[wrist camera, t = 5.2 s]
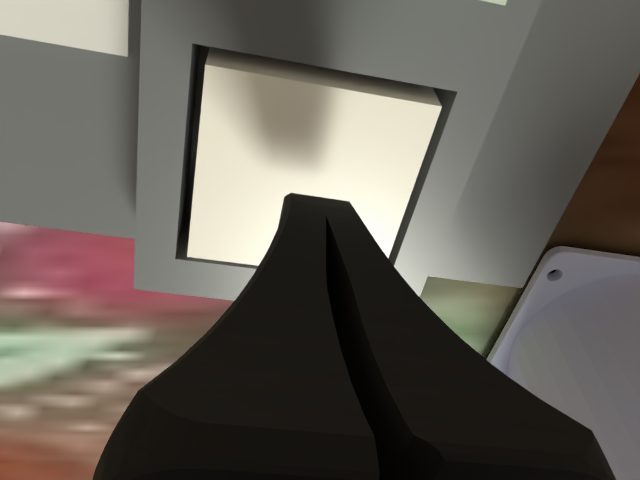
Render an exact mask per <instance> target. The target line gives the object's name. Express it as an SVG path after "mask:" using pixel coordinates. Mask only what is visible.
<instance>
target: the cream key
mask: <svg viewBox="0 0 640 480" xmlns="http://www.w3.org/2000/svg"><path fill="white" fill-rule="evenodd" d="M441 108H442V106H441V104H440V102H439V100H438V97H437V95H436V93H435V91H434V89H433V87H429V86H423V85H418V84H412V83H407V82H401V81H396V80H390V79H385V78H379V77H374V76H368V75H363V74H357V73H352V72H346V71H341V70H335V69H330V68H325V67H319V66H314V65H308V64H303V63H297V62H292V61H286V60H281V59H275V58H270V57H264V56H259V55H253V54H248V53H242V52H237V51H231V50H226V49H220V48H215V47H210V49H209V52H208V56H207V60H206V64H205V72H204V83H203V93H202V104H201V114H200V125H199V136H198V146H197V157H196V167H195V178H194V188H193V199H192V210H191V220H190V231H189V241H188V252H187V257H193V258H201V259H209V260H217V261H225V262H233V263H241V264H249V265H257V266H259V264H260V263H261V261H262V259H263V257H264V256H265V254H266V252H267V250H268V249H269V247H270V244H271V242H272V240H273V238H274V236H275V234H276V231H277V229H278V225H279V220H280V215H281V210H282V205H283V200H284V197H285V196H286V195H288V194H290V193H296V194H303V195H310V196H316V197H323V198H330V199H337V200H343V201H350V203H351V204H352V206H353V207H354V209H355V210H356V212H357V213H358V215H359V216H360V218H361V219H362V221H363V223H364V224H365V226H366V227H367V229H368V230H369V232H370V233H371V235H372V236H373V238H374V239H375V241H376V242H377V244H378V245H379V246H380V248H381V249H382V251H383V252H384V253H385V255H386V256H387V258H389V255H390V252H391V249H392V247H393V244H394V241H395V238H396V235H397V232H398V230H399V227H400V224H401V221H402V218H403V215H404V213H405V210H406V207H407V204H408V201H409V198H410V196H411V193H412V190H413V187H414V184H415V182H416V179H417V176H418V173H419V170H420V167H421V165H422V162H423V159H424V156H425V153H426V150H427V148H428V145H429V142H430V139H431V136H432V134H433V131H434V128H435V125H436V122H437V119H438V117H439V114H440V111H441Z"/></svg>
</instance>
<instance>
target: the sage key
mask: <svg viewBox="0 0 640 480" xmlns="http://www.w3.org/2000/svg"><path fill="white" fill-rule="evenodd" d="M481 1H486V2H490V3H495V4H500V5H506V2H507V0H481Z"/></svg>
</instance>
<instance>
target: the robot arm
mask: <svg viewBox="0 0 640 480" xmlns="http://www.w3.org/2000/svg"><path fill="white" fill-rule="evenodd" d="M552 270H556V271H555V272H553V273H550V274H548V273H549V272H550V271H552ZM93 480H640V257H637V256H630V255H623V254H615V253H608V252H601V251H594V250H587V249H580V248H573V247H566V246H558V247H555V248H552V249H550V250H549V251H547V252H546V254H545V255H544V256H543V258H542V260H541V262H540V264H539V265H538V267H537V269H536V271H535V273H534V274H533V276H532V278H531V280H530V282H529V283H528V285H527V287H526V289H525V291H524V292H523V294H522V296H521V298H520V300H519V302H518V303H517V305H516V307H515V309H514V311H513V312H512V314H511V316H510V318H509V320H508V321H507V323H506V325H505V327H504V329H503V330H502V332H501V334H500V336H499V338H498V340H497V341H496V343H495V345H494V347H493V349H492V350H491V352H490V354H489V356H488V358H487V359H485V358H484V357H482V356H481V355H480V354H479V353H478V352H476V351H475V350H474V349H473V348H472V347H470V346H469V345H468V344H467V343H466V342H464V341H463V340H462V339H461V338H460V337H459V336H458V335H457V334H456V333H454V332H453V331H452V330H451V329H450V328H449V327H448V326H447V325H446V324H445V323H444V322H443V321H442V320H441V319H440V318H439V317H438V316H437V315H436V314H435V313H434V312H433V311H432V310H431V309H430V308H429V307H428V306H427V305H426V304H425V303H424V302H423V301H422V299H421V298H420V297H419V296H418V295H417V294H416V293H415V291H414V290H413V289H412V288H411V287H410V285H409V284H408V283H407V282H406V281H405V280H404V278H403V277H402V276H401V275H400V273H399V272H398V271H397V270H396V268H395V267H394V266H393V264H392V263H391V262H390V260H389V259H388V258H387V256H386V255H385V253H384V252H383V251H382V249H381V248H380V246H379V245H378V244H377V242H376V241H375V239H374V238H373V236H372V235H371V233H370V232H369V230H368V229H367V227H366V226H365V224H364V223H363V221H362V219H361V218H360V216H359V215H358V213H357V212H356V210H355V209H354V207H353V206H352V204H351V203H350V201H343V200H337V199H330V198H323V197H316V196H310V195H303V194H296V193H290V194H288V195H286V196H285V197H284V200H283V205H282V210H281V215H280V220H279V225H278V229H277V231H276V234H275V236H274V238H273V240H272V242H271V244H270V247H269V249H268V250H267V252H266V254H265V256H264V257H263V259H262V261H261V263H260V264H259V266H258V268H257V269H256V271H255V273H254V274H253V276H252V277H251V279H250V280H249V282H248V283H247V285H246V286H245V288H244V289H243V290H242V292H241V293H240V294H239V296H238V297H237V298H236V300H235V301H234V302H233V303H232V305H231V306H230V307H229V308H228V309H227V310H226V312H225V313H224V314H223V315H222V316H221V318H220V319H219V320H218V321H217V322H216V323H215V324H214V325H213V326H212V328H211V329H210V330H209V331H208V332H207V333H206V334H205V335H204V336H203V337H202V338H200V339H199V340H198V341H197V342H196V343H195V344H194V345H193V346H192V347H191V348H190V349H189V350H188V351H187V352H186V353H185V354H184V355H182V356H181V357H180V358H179V359H178V360H177V361H176V362H174V363H173V364H172V365H171V366H170V367H168V368H167V369H166V370H164V371H163V372H162V373H161V374H159V375H158V376H157V377H155V378H154V379H153V380H152V381H150V382H149V383H148V384H146V385H145V386H144V387H142V388H141V389H140V390H139V391H138V392H137V393H136V395H135V397H134V398H133V400H132V401H131V403H130V404H129V406H128V407H127V409H126V411H125V412H124V414H123V415H122V417H121V419H120V420H119V422H118V424H117V426H116V427H115V429H114V431H113V433H112V434H111V436H110V438H109V440H108V442H107V444H106V446H105V448H104V450H103V453H102V455H101V457H100V460H99V462H98V464H97V467H96V470H95V473H94V476H93Z"/></svg>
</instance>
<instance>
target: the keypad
mask: <svg viewBox="0 0 640 480" xmlns="http://www.w3.org/2000/svg"><path fill="white" fill-rule="evenodd" d="M210 47H215V48H220V49H226V50H231V51H237V52H242V53H248V54H253V55H259V56H264V57H270V58H275V59H281V60H286V61H292V62H297V63H303V64H308V65H314V66H319V67H325V68H330V69H335V70H341V71H346V72H352V73H357V74H363V75H368V76H374V77H379V78H385V79H390V80H396V81H401V82H407V83H412V84H418V85H423V86H429V87H433V89H434V91H435V93H436V95H437V97H438V100H439V102H440V104H441V106H442V108H441V111H440V114H439V117H438V119H437V122H436V125H435V128H434V131H433V134H432V136H431V139H430V142H429V145H428V148H427V150H426V153H425V156H424V159H423V162H422V165H421V167H420V170H419V173H418V176H417V179H416V182H415V184H414V187H413V190H412V193H411V196H410V198H409V201H408V204H407V207H406V210H405V213H404V215H403V218H402V221H401V224H400V227H399V230H398V232H397V235H396V238H395V241H394V244H393V247H392V249H391V252H390V255H389V258H388V259H389V260H390V262H391V263H392V264H393V266H394V267H395V268H396V270H397V271H398V272H399V273H400V275H401V276H402V277H403V278H404V280H405V281H406V282H407V283H408V284H409V285H410V287H411V288H412V289H413V290H414V291H415V293H416V294H417V295H418V296H420V294H421V292H422V289H423V287H424V284H425V282H426V279H427V277H428V276H431V277H439V278H447V279H455V280H463V281H470V282H478V283H486V284H494V285H502V286H510V287H518V288H523V286H524V284H525V282H526V281H527V279H528V277H529V275H530V273H531V271H532V270H533V268H534V266H535V264H536V262H537V260H538V259H539V257H540V255H541V253H542V251H543V249H544V248H545V246H546V244H547V242H548V240H549V239H550V237H551V235H552V233H553V231H554V229H555V228H556V226H557V224H558V222H559V220H560V218H561V217H562V215H563V213H564V211H565V209H566V208H567V206H568V204H569V202H570V200H571V198H572V197H573V195H574V193H575V191H576V189H577V187H578V186H579V184H580V182H581V180H582V178H583V176H584V175H585V173H586V171H587V169H588V167H589V166H590V164H591V162H592V160H593V158H594V156H595V155H596V153H597V151H598V149H599V147H600V145H601V144H602V142H603V140H604V138H605V136H606V134H607V133H608V131H609V129H610V127H611V125H612V124H613V122H614V120H615V118H616V116H617V114H618V113H619V111H620V109H621V107H622V105H623V103H624V102H625V100H626V98H627V96H628V94H629V93H630V91H631V89H632V87H633V85H634V83H635V82H636V80H637V78H638V76H639V74H640V0H507V2H506V5H500V4H495V3H490V2H486V1H481V0H0V222H7V223H15V224H23V225H31V226H38V227H46V228H54V229H62V230H70V231H78V232H86V233H93V234H101V235H109V236H117V237H125V238H133V239H135V261H134V289H137V290H146V291H155V292H163V293H172V294H181V295H190V296H199V297H207V298H216V299H225V300H234V301H235V300H236V298H237V297H238V296H239V294H240V293H241V292H242V290H243V289H244V288H245V286H246V285H247V283H248V282H249V280H250V279H251V277H252V276H253V274H254V273H255V271H256V269H257V268H258V266H257V265H249V264H241V263H233V262H225V261H217V260H209V259H201V258H193V257H187V252H188V241H189V231H190V220H191V210H192V199H193V188H194V178H195V167H196V157H197V146H198V136H199V125H200V114H201V104H202V93H203V83H204V72H205V64H206V60H207V56H208V52H209V49H210Z"/></svg>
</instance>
